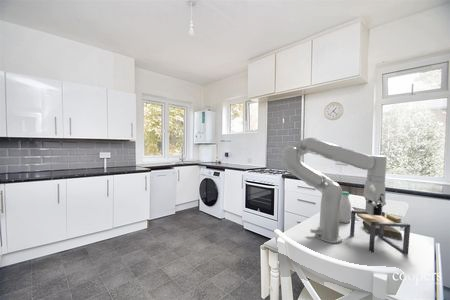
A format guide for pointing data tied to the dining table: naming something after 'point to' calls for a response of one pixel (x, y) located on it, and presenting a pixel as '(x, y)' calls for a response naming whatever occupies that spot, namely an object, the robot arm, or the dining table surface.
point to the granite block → (371, 208)
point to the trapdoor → (380, 218)
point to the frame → (381, 231)
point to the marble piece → (387, 230)
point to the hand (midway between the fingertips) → (373, 212)
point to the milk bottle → (345, 208)
